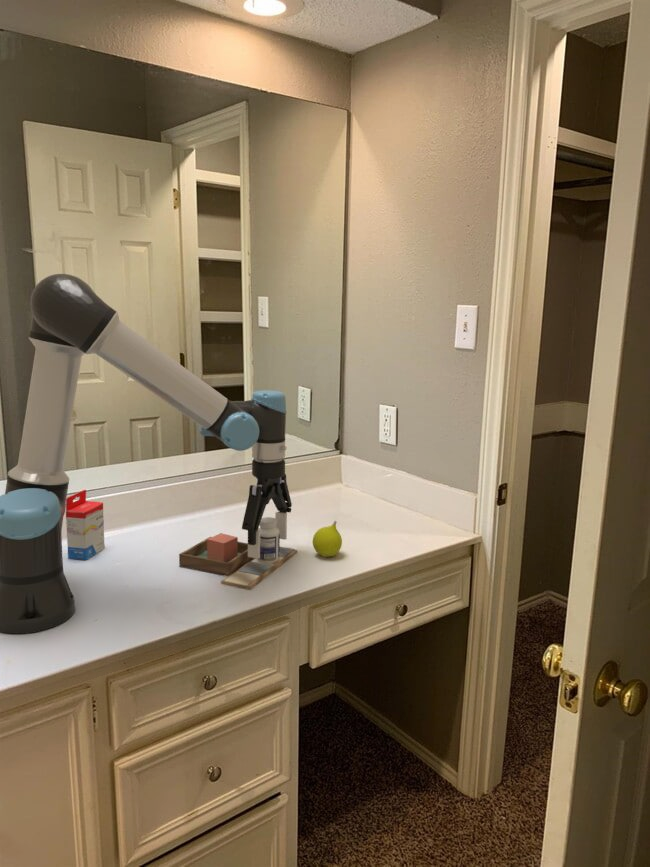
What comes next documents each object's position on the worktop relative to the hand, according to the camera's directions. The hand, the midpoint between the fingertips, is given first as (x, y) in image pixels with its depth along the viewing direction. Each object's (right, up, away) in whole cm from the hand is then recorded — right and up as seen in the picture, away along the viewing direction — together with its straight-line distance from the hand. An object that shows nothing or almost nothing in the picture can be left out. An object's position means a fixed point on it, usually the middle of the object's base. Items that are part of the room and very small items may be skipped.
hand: (267, 547), depth 153 cm
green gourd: (+14, -3, +6) cm, 15 cm away
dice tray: (-12, -3, +1) cm, 12 cm away
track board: (-1, -4, -2) cm, 5 cm away
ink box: (-44, -2, +4) cm, 44 cm away
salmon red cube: (-12, -1, -1) cm, 12 cm away
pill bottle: (0, -3, 0) cm, 3 cm away
